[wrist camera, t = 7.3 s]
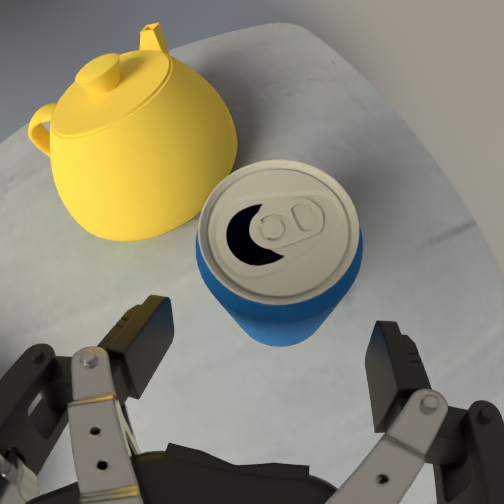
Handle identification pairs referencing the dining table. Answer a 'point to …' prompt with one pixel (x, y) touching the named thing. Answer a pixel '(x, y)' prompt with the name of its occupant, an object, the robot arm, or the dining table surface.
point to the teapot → (137, 142)
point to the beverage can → (279, 248)
